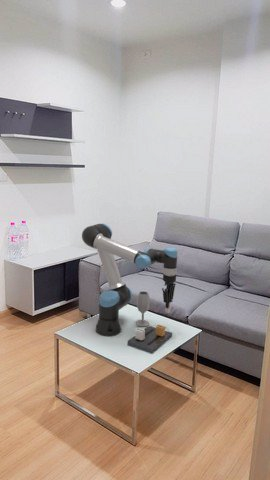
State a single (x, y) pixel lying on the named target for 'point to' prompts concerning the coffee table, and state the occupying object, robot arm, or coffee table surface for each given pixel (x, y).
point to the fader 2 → (160, 330)
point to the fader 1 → (140, 334)
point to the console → (150, 340)
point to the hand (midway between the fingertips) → (167, 312)
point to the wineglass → (143, 307)
